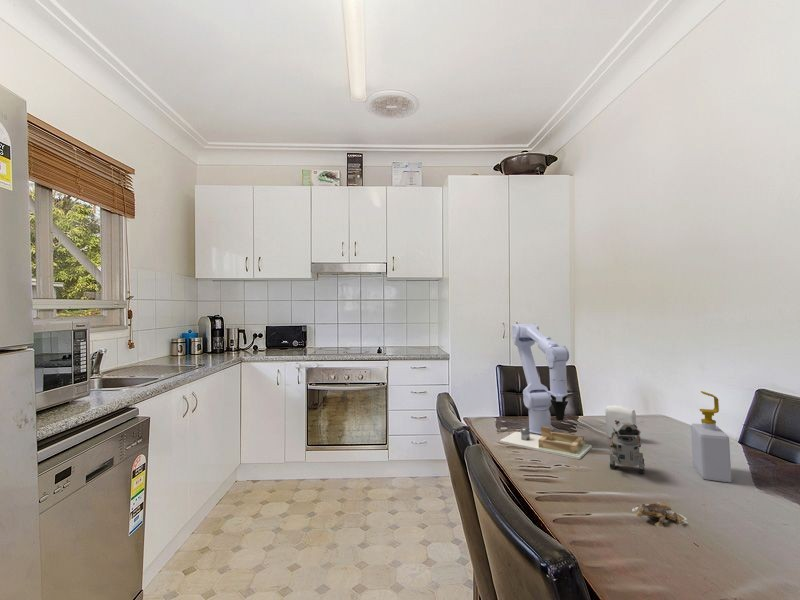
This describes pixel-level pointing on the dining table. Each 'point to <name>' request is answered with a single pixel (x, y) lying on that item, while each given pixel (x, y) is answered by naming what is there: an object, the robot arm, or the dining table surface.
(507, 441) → the board
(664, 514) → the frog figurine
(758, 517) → the dining table surface
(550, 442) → the wooden square frame
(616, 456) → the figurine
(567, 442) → the mat
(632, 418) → the photo printer
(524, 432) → the peg
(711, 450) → the soap bottle
